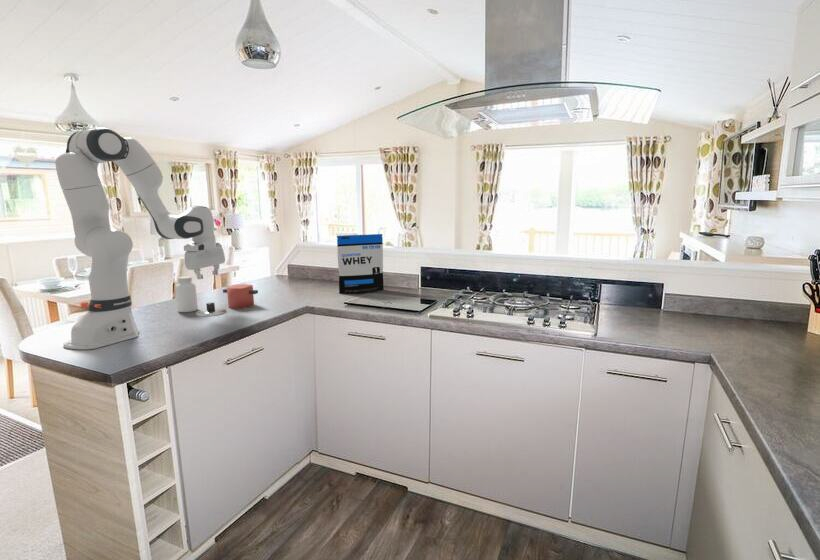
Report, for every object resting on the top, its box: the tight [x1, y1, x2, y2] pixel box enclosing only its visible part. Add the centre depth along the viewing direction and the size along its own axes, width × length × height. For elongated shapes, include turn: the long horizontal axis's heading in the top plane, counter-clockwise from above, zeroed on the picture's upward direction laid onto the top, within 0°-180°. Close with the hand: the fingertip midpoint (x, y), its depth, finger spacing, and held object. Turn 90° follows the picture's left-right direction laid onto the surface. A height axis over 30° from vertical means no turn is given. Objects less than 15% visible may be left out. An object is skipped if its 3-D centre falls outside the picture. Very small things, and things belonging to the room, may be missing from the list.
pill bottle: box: [175, 276, 199, 313], centre depth 190 cm, size 8×8×15 cm
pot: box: [222, 283, 259, 310], centre depth 198 cm, size 11×17×9 cm, turn 75°
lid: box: [195, 302, 227, 317], centre depth 187 cm, size 12×12×4 cm
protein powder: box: [336, 233, 385, 295], centre depth 225 cm, size 10×24×30 cm, turn 113°
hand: (207, 276), depth 185 cm, fingers open, 8 cm apart
